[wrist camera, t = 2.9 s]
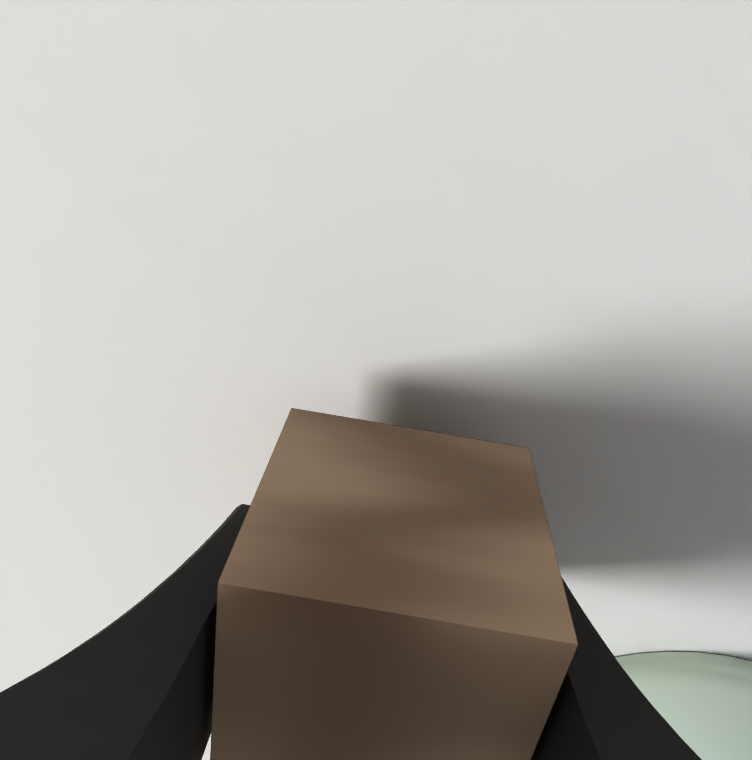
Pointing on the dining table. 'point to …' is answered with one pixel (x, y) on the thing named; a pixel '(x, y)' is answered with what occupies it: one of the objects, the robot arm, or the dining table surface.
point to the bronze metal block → (389, 601)
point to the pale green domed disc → (699, 699)
